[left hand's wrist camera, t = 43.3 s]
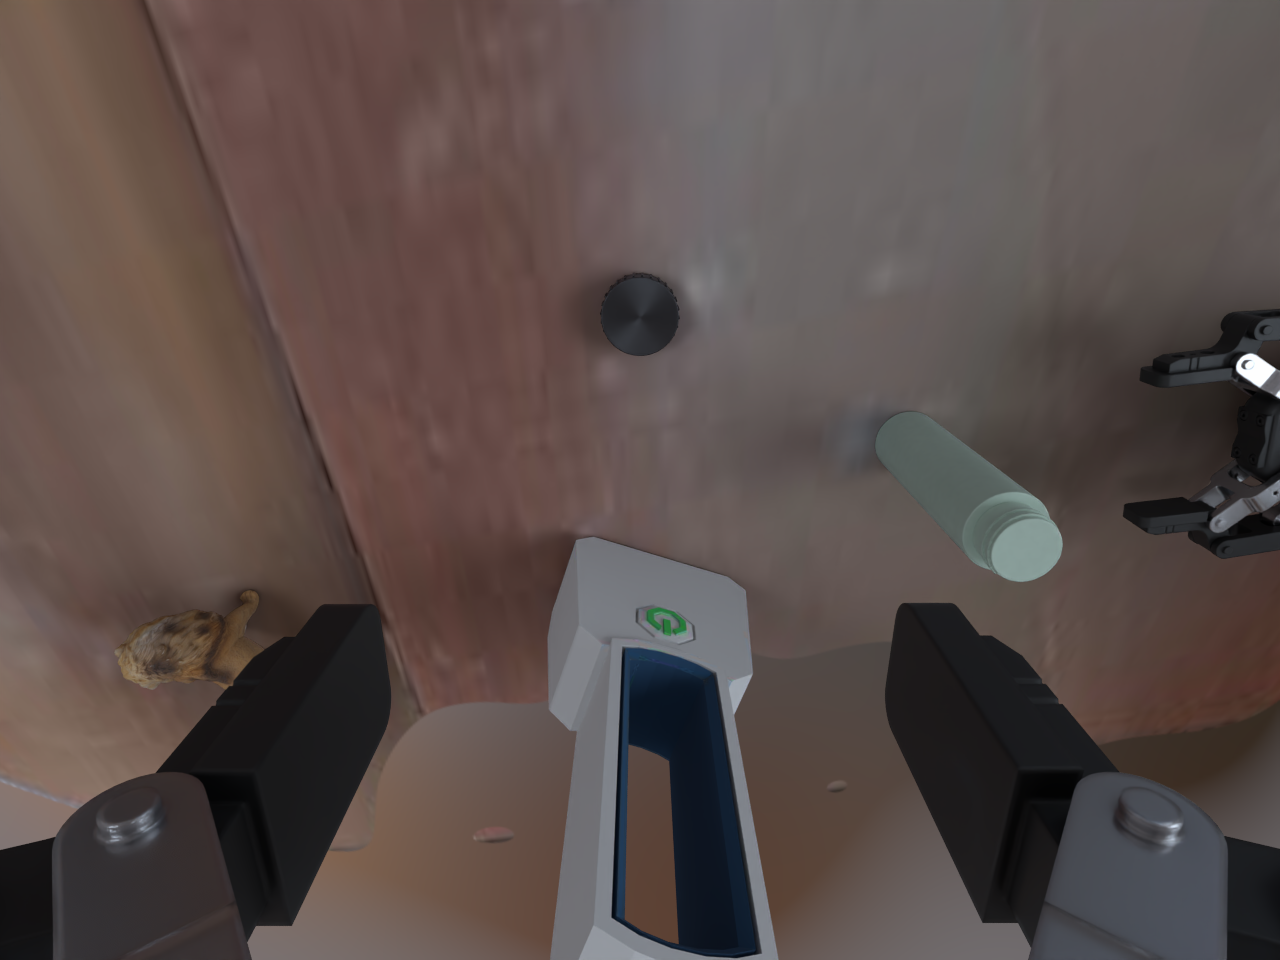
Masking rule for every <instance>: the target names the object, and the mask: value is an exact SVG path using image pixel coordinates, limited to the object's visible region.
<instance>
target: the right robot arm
mask: <svg viewBox="0 0 1280 960" xmlns="http://www.w3.org/2000/svg"><path fill="white" fill-rule="evenodd" d="M1221 329H1222V331H1223V334H1222V336H1221V338H1220V340H1219V341H1218V343H1217V344H1215V345H1214V346H1213V347H1211V348H1208V349H1203V350H1195V351H1187V352H1179V353H1171V354H1163V355H1161V356H1159V357H1157V358H1155V359H1153V366H1146V367H1142V368H1141V372H1140V381H1142V382H1145V383H1147V384H1150V385H1153V386H1156V387H1163V388H1168V387H1177V386H1185V385H1193V384H1202V383H1210V382H1218V381H1226V380H1227V381H1228V382H1230V383H1231V384H1233V385H1234V386H1236V387H1237V388H1239V389H1240V390H1242V391H1243V392H1244V393H1246V394H1247V395H1249V396H1250V399H1249V400H1248V401H1247V403H1246V404H1245V406H1241V407H1239V411H1238V417H1237V423H1238V434H1237V436H1236V439H1235V441H1234V443H1233V446H1232V452H1231V457H1232V458H1235V459H1234V460H1233V461H1232V462H1230V463H1229V464H1227V465H1226V466H1225V467H1223V468H1222V469H1220V470H1219V471H1218V472H1216V473H1215V474H1214V475H1212V477H1211V479H1210V480H1211V483H1210V485H1208V486H1207V487H1206V488H1204V489H1203V490H1201V491H1200V492H1199V493H1197V494H1196V495H1194V496H1193V497H1192V498H1190V499H1189V500H1187V499H1185V498H1183V497H1179V498H1170V499H1161V500H1152V501H1144V502H1135V503H1127V504H1125V505H1124V511H1123V517H1124V518H1126V519H1127V520H1129V521H1130V522H1132V523H1133V524H1135V525H1136V526H1138V527H1139V528H1141V529H1142V530H1144V531H1145V532H1147V533H1150V534H1154V535H1159V534H1165V533H1166V534H1168V533H1177V532H1186V531H1189V532H1188V537H1189V539H1190V540H1192V541H1193V542H1195V543H1197V544H1199V545H1201V546H1203V547H1204V548H1206V549H1208V550H1209V551H1211V552H1212V553H1213V554H1214V555H1216V556H1218V557H1219V558H1222V559H1226V558H1232V557H1238V556H1245V555H1251V554H1257V553H1263V552H1269V551H1275V550H1280V503H1279V504H1278V505H1276V506H1273V505H1274V504H1276V503H1277V502H1279V501H1280V371H1279V370H1277V369H1276V368H1274V367H1273V366H1271V365H1270V364H1268V363H1267V362H1265V361H1264V360H1263V359H1261V358H1260V357H1258V356H1257V355H1256V354H1257V352H1258V350H1259V348H1260V347H1261V345H1262V343H1263V341H1275V340H1280V309H1272V310H1257V311H1242V312H1232V313H1229V314H1227V315H1226V316H1225V317H1224V318H1223V320H1222V322H1221ZM1249 476H1252V477H1254V478H1255V479H1257V480H1259V481H1260V482H1262V483H1263V484H1261V485H1258V486H1249V485H1246V484H1244V483H1242V481H1243V480H1245V479H1246V478H1248V477H1249ZM1227 499H1230V500H1229V501H1227V502H1226V503H1224V504H1223V505H1221V506H1220V507H1219V508H1217V509H1216V508H1215V507H1216V506H1218V505H1219V504H1221V503H1222V502H1223V501H1225V500H1227ZM1271 506H1273V507H1271ZM1252 512H1259V514H1255V515H1249V516H1247V515H1248V514H1250V513H1252Z"/></svg>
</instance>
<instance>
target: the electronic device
mask: <svg viewBox="0 0 1280 960" xmlns="http://www.w3.org/2000/svg"><path fill="white" fill-rule="evenodd" d="M752 675H753V669H752V657H751V646H750V634H749V623H748V611H747V600H746V590H744V589H743V588H742V587H741V586H739V585H738V584H737V583H735V582H734V581H733V580H731V579H730V578H729V577H726V576H723V575H720V574H716V573H713V572H710V571H706V570H703V569H700V568H696V567H693V566H690V565H686V564H683V563H680V562H676V561H673V560H670V559H666V558H663V557H660V556H656V555H653V554H650V553H646V552H643V551H640V550H636V549H633V548H630V547H626V546H623V545H620V544H616V543H613V542H610V541H606V540H603V539H600V538H596V537H589V538H584V539H578V540H576V542H575V545H574V548H573V551H572V554H571V557H570V560H569V563H568V566H567V569H566V572H565V575H564V578H563V581H562V584H561V587H560V590H559V593H558V596H557V599H556V602H555V605H554V608H553V611H552V616H551V621H550V627H549V633H548V684H549V710H550V711H551V712H552V713H553V714H554V715H555V716H556V717H557V718H558V719H559V720H560V721H561V722H562V723H563V724H564V725H565V726H566V727H567V728H568V729H569V730H570V731H577V737H576V745H575V754H574V762H573V770H572V779H571V787H570V796H569V804H568V813H567V821H566V830H565V838H564V847H563V855H562V864H561V872H560V880H559V889H558V897H557V906H556V914H555V923H554V931H553V940H552V948H551V957H550V960H778V955H777V950H776V944H775V939H774V933H773V928H772V922H771V917H770V911H769V906H768V900H767V895H766V889H765V884H764V878H763V873H762V867H761V862H760V856H759V851H758V845H757V840H756V834H755V829H754V823H753V818H752V812H751V807H750V801H749V796H748V790H747V785H746V779H745V774H744V768H743V763H742V757H741V752H740V746H739V741H738V735H737V730H736V724H735V719H734V714H735V711H736V709H737V707H738V705H739V703H740V701H741V698H742V696H743V694H744V692H745V690H746V688H747V685H748V683H749V681H750V679H751V677H752ZM628 744H629V745H633V746H636V747H640V748H643V749H645V750H648V751H650V752H653V753H655V754H658V755H660V756H661V757H663V758H665V759H667V760H668V761H669V764H670V784H671V803H672V822H673V841H674V861H675V880H676V898H677V918H678V937H679V944H675V943H671V942H667V941H665V940H663V939H660V938H658V937H655V936H653V935H650V934H648V933H646V932H643V931H641V930H640V929H638V928H637V927H635V926H633V925H632V924H630V923H629V922H627V921H626V920H625V875H626V829H627V782H628Z"/></svg>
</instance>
